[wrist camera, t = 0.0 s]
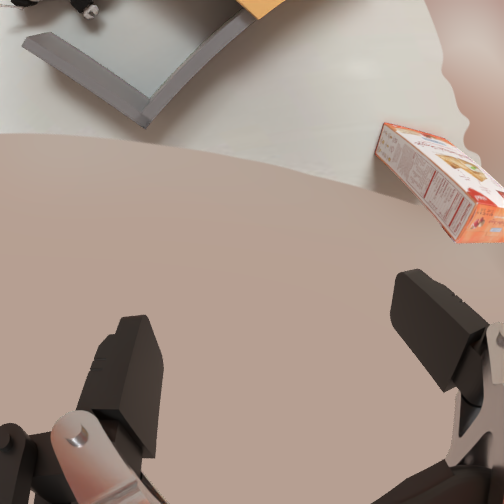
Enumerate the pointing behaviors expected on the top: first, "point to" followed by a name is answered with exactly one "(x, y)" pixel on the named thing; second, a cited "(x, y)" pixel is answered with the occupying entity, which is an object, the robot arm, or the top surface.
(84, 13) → the robot toy
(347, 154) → the top surface
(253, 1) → the lid
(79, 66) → the box
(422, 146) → the cracker box
